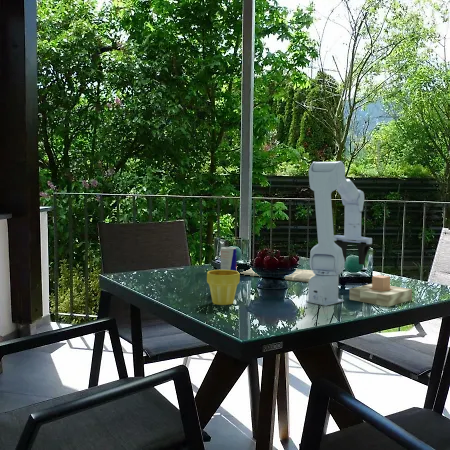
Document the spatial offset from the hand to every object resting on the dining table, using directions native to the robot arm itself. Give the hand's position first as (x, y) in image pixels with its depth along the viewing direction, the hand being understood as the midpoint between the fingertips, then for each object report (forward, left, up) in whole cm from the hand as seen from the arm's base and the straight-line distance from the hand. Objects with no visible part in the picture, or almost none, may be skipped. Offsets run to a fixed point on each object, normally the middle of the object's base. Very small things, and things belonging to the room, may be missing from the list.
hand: (352, 262), depth 195 cm
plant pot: (-47, +15, -10) cm, 50 cm away
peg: (-7, -16, -9) cm, 20 cm away
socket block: (-7, -16, -9) cm, 20 cm away
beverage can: (-32, +29, -10) cm, 44 cm away
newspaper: (+4, +38, -10) cm, 39 cm away
